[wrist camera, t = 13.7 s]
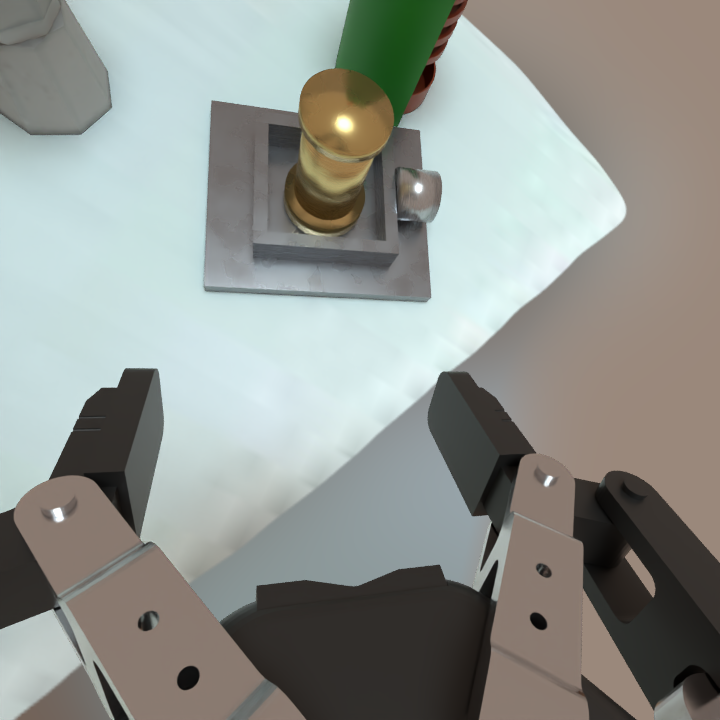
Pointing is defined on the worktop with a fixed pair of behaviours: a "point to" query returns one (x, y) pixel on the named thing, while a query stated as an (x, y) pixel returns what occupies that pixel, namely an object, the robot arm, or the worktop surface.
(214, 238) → the coupling base
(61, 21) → the coffee maker
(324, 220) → the gold tall waisted piece
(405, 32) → the motor
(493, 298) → the worktop surface
